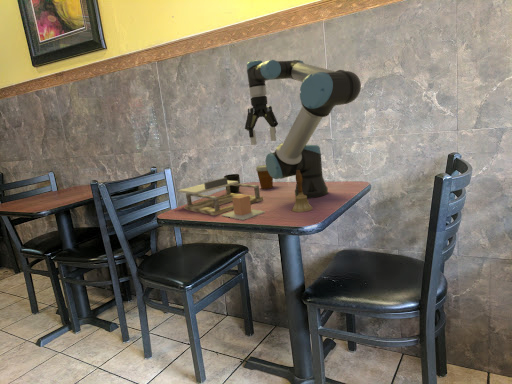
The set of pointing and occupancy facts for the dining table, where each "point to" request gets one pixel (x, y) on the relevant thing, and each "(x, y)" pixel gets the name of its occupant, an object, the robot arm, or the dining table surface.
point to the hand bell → (301, 197)
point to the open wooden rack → (219, 201)
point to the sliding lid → (208, 186)
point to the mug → (233, 178)
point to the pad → (243, 217)
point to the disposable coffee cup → (264, 177)
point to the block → (241, 204)
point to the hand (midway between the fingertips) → (264, 142)
